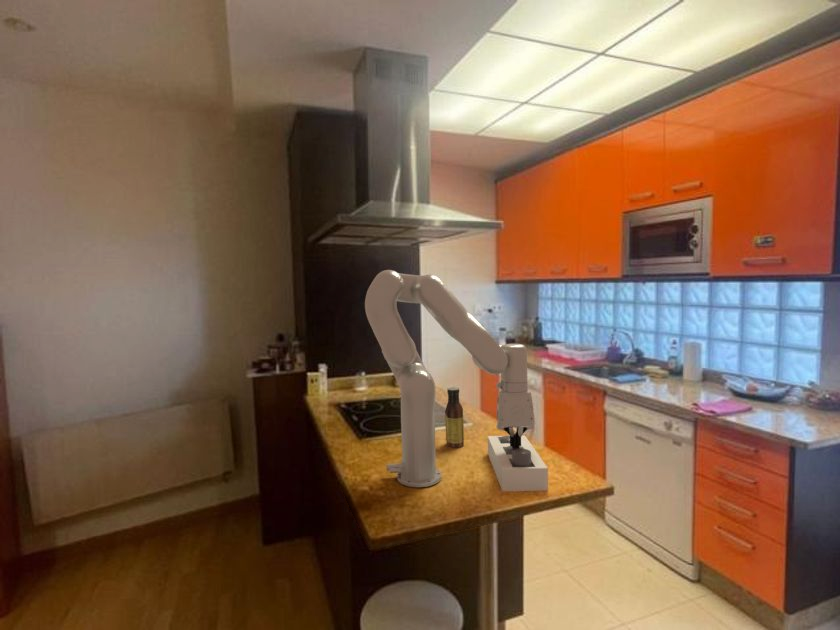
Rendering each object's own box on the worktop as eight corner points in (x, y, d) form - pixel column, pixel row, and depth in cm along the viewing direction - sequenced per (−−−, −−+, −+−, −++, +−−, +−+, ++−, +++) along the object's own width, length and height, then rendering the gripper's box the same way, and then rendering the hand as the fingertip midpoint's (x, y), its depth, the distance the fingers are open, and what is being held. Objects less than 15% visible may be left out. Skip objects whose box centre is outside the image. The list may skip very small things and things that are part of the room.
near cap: (514, 475, 116) (514, 455, 115) (510, 468, 121) (510, 448, 120) (533, 475, 116) (532, 455, 115) (528, 467, 121) (528, 448, 120)
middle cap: (507, 470, 125) (507, 452, 125) (504, 463, 130) (504, 445, 130) (525, 470, 125) (525, 451, 124) (521, 463, 130) (521, 445, 129)
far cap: (502, 458, 134) (502, 441, 134) (499, 452, 139) (499, 435, 138) (518, 458, 134) (518, 441, 133) (515, 452, 139) (515, 435, 138)
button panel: (502, 491, 114) (502, 469, 114) (487, 454, 140) (487, 436, 140) (548, 490, 114) (547, 468, 114) (525, 453, 140) (524, 435, 140)
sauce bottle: (453, 440, 154) (451, 385, 153) (467, 444, 150) (466, 387, 149) (442, 446, 149) (440, 388, 148) (457, 449, 145) (456, 391, 144)
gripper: (490, 390, 122) (492, 454, 123) (543, 388, 122) (544, 452, 123) (486, 384, 130) (488, 444, 131) (536, 383, 130) (537, 443, 131)
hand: (515, 448), depth 127 cm, fingers closed
